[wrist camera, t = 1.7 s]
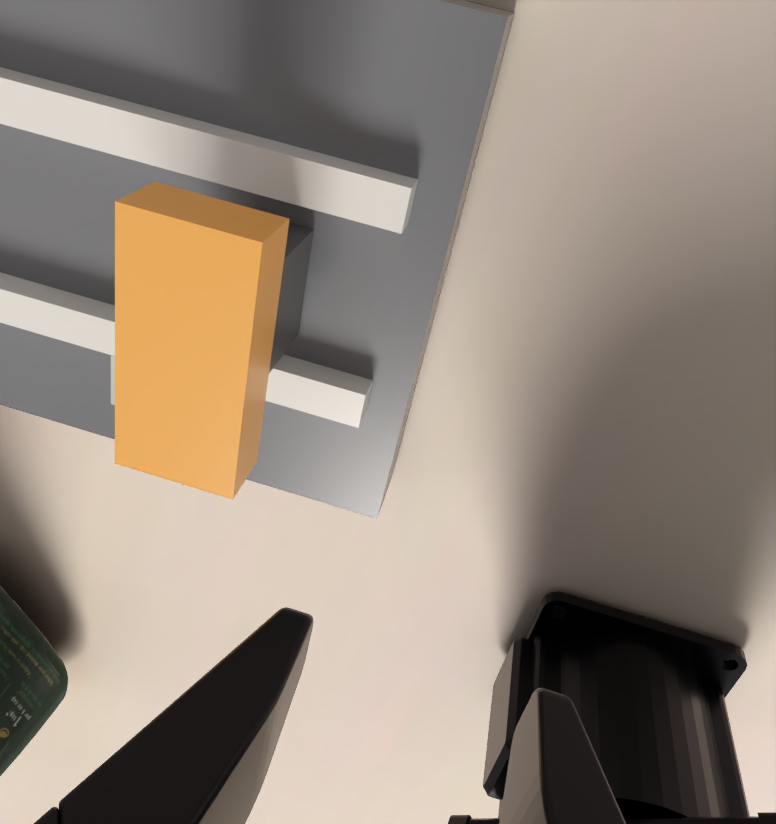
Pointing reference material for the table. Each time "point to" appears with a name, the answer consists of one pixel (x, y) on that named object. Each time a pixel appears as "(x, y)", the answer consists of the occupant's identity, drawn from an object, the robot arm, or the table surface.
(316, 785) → the table surface
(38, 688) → the coffee jar
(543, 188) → the table surface
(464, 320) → the table surface
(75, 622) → the table surface
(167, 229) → the fader
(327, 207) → the console
